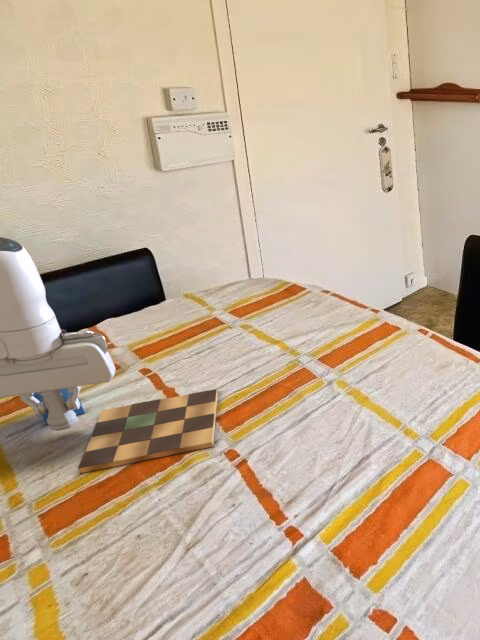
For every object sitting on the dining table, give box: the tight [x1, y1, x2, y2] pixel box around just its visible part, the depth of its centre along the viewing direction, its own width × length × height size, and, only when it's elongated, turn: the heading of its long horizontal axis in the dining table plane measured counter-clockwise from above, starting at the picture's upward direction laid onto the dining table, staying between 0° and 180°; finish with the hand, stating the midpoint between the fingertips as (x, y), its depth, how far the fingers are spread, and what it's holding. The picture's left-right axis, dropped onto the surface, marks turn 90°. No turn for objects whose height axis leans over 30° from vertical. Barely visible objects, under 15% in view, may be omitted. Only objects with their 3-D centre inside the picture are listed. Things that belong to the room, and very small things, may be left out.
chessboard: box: [77, 388, 219, 474], centre depth 112 cm, size 20×20×1 cm
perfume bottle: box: [32, 388, 85, 426], centre depth 116 cm, size 6×6×12 cm
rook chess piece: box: [38, 389, 79, 432], centre depth 107 cm, size 4×4×8 cm
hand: (58, 410), depth 108 cm, fingers closed on rook chess piece, 3 cm apart
